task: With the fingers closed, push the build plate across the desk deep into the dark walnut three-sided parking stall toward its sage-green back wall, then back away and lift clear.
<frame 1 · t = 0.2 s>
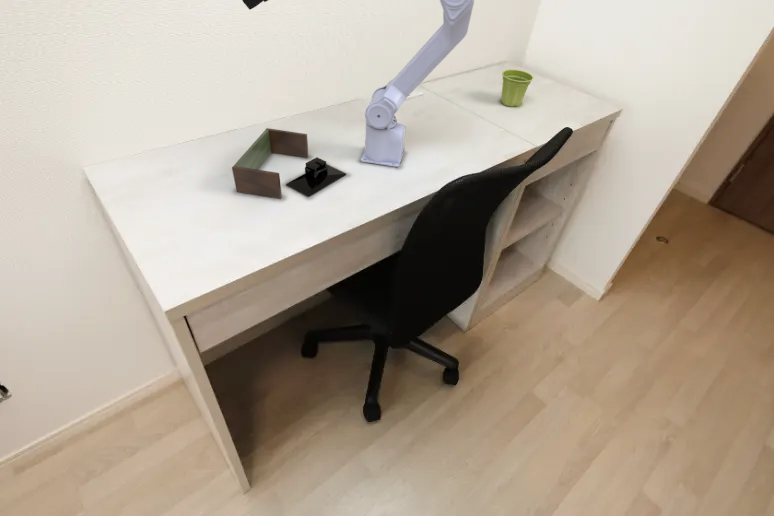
hand: (254, 1, 91), 32 cm above the table, tool tilted 50°, fingers open, 7 cm apart
stall: (274, 173, 102), on the table
plant pot: (510, 103, 140), on the table
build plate: (316, 180, 101), on the table
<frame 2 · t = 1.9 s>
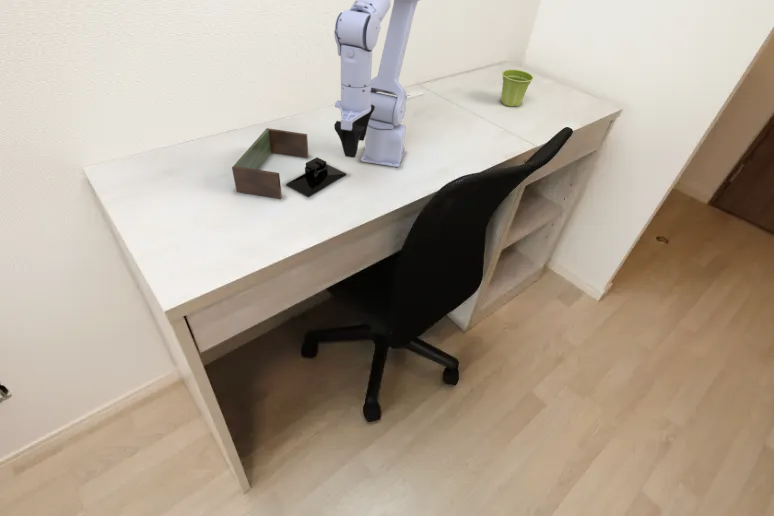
hand: (354, 147, 93), 10 cm above the table, tool pointing down, fingers open, 7 cm apart
nothing on the table moved.
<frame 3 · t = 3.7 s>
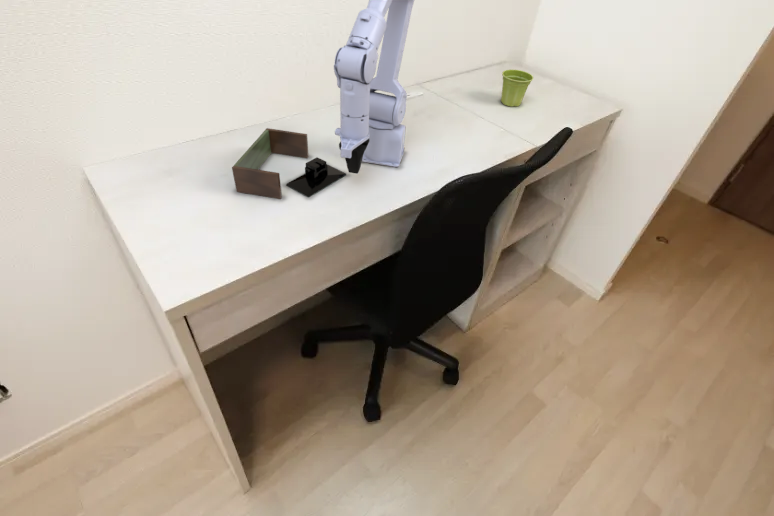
hand: (354, 171, 97), 4 cm above the table, tool pointing down, fingers closed
nothing on the table moved.
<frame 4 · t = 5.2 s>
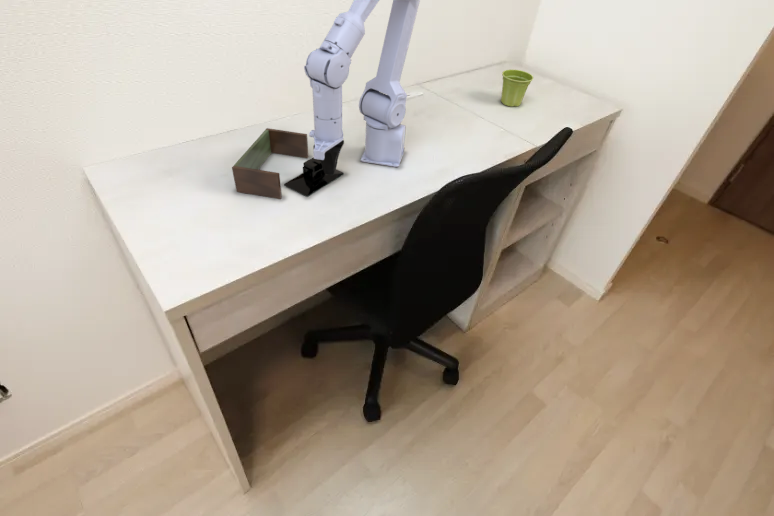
hand: (329, 172, 99), 2 cm above the table, tool pointing down, fingers closed
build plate: (314, 180, 101), on the table, touching gripper
everything else where it was.
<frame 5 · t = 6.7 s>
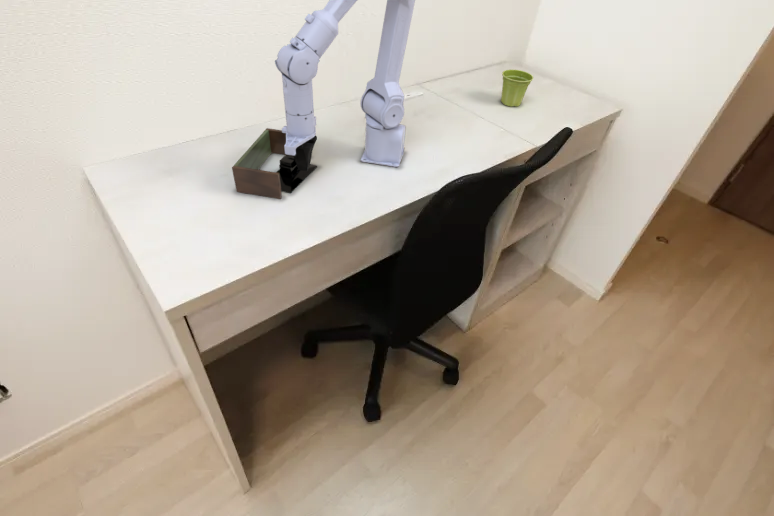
hand: (303, 168, 99), 2 cm above the table, tool pointing down, fingers closed
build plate: (291, 176, 101), on the table, touching gripper
everything else where it was.
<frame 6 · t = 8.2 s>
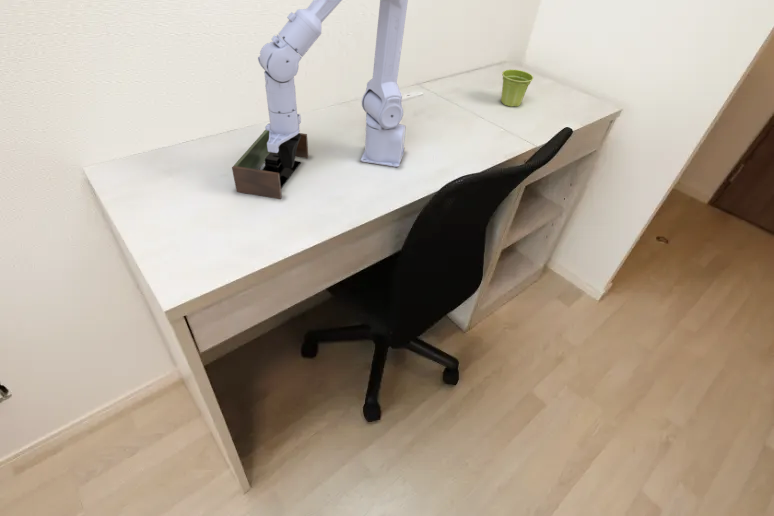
hand: (288, 166, 100), 2 cm above the table, tool pointing down, fingers closed
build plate: (276, 174, 102), on the table, touching gripper
everything else where it was.
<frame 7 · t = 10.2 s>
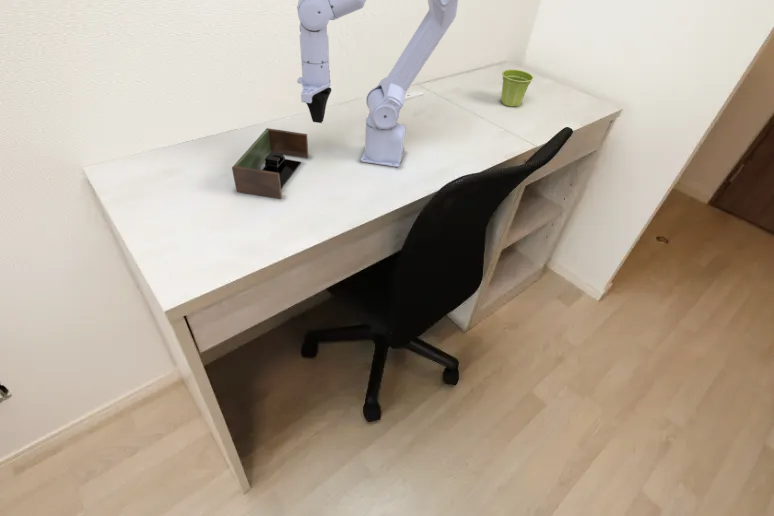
hand: (318, 121, 102), 9 cm above the table, tool pointing down, fingers closed
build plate: (276, 174, 102), on the table
everything else where it was.
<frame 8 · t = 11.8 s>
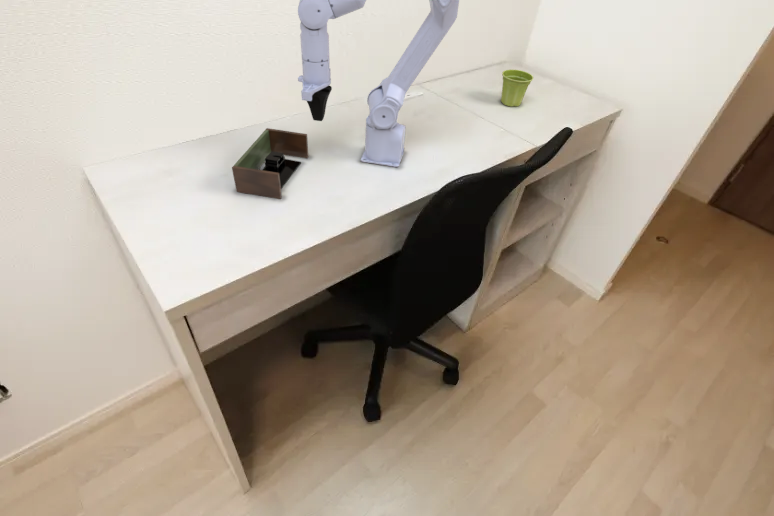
hand: (318, 119, 102), 9 cm above the table, tool pointing down, fingers closed
nothing on the table moved.
at the end: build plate inside the target area on the stall (1.4 cm from its centre), point 0.0 cm above the stall's base; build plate tilted 0°; the gripper is holding nothing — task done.
